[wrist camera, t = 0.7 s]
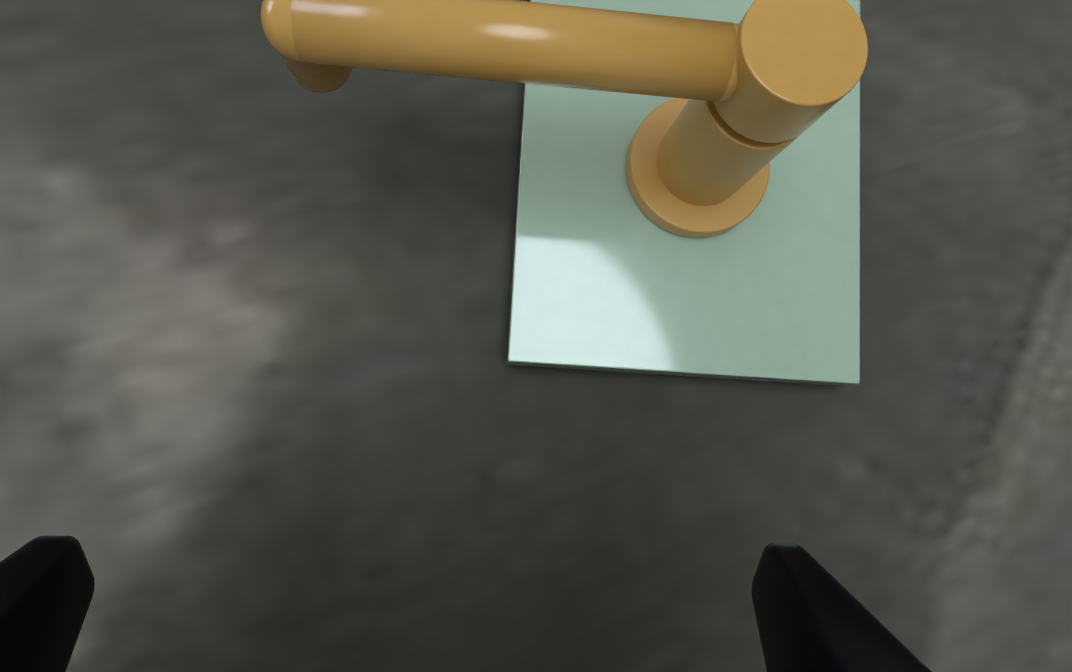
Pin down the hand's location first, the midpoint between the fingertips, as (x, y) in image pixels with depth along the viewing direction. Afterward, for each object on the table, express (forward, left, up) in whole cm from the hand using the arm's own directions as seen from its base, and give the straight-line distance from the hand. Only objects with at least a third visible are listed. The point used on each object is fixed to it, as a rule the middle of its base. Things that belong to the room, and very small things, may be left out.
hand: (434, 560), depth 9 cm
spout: (+8, -8, -8) cm, 13 cm away
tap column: (+5, -12, -13) cm, 18 cm away
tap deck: (+5, -12, -15) cm, 19 cm away
